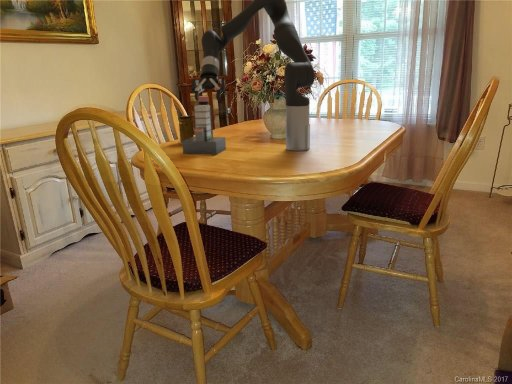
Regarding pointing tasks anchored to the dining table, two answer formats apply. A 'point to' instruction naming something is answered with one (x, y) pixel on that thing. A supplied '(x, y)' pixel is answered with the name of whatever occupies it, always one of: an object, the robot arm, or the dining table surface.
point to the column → (203, 119)
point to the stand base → (203, 144)
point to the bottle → (204, 101)
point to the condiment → (185, 128)
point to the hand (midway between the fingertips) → (207, 99)
